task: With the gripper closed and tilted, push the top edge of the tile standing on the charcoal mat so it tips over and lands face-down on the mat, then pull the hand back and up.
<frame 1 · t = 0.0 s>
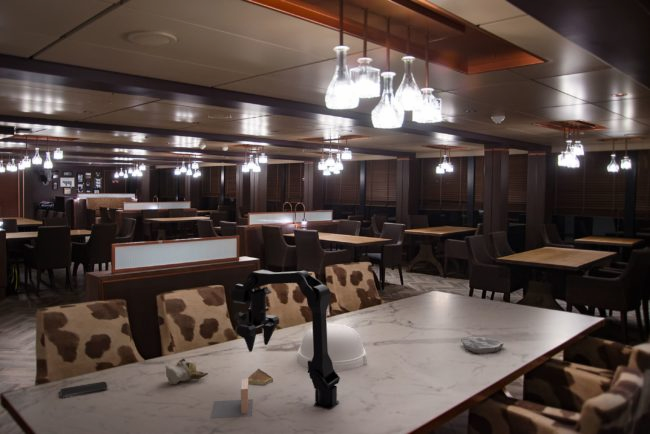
hand: (258, 348, 181), 15 cm above the table, fingers open, 9 cm apart
mat: (232, 409, 164), on the table
phone: (83, 392, 179), on the table
flat grey rock: (480, 349, 230), on the table
tile: (245, 407, 165), resting on mat
shard: (256, 381, 190), on the table
dome cover: (331, 359, 215), on the table
ceramic sculpture: (184, 381, 189), on the table
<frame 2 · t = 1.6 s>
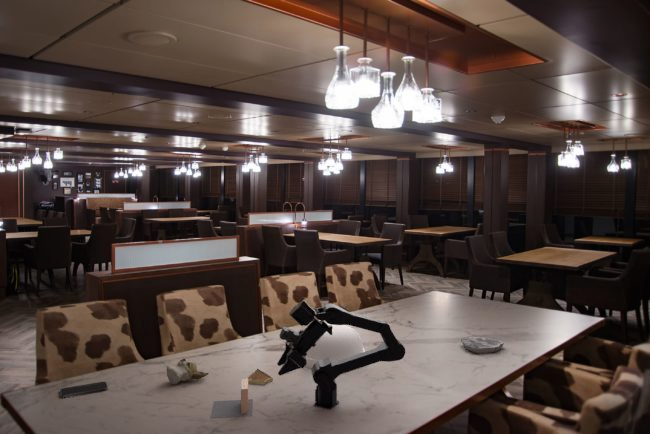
hand: (278, 369, 166), 12 cm above the table, fingers open, 9 cm apart
nothing on the table moved.
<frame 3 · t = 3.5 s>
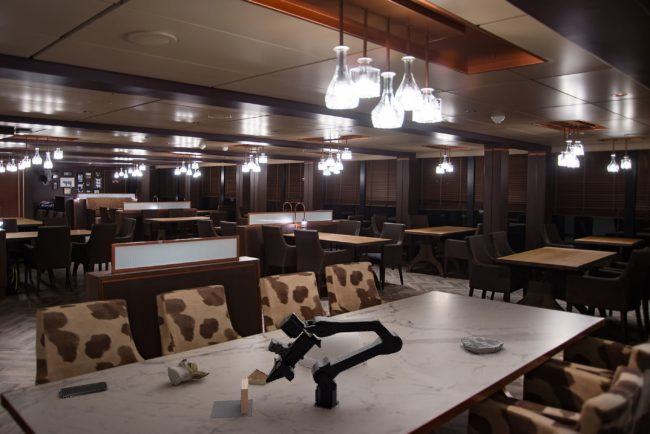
hand: (266, 381, 165), 9 cm above the table, fingers closed
nothing on the table moved.
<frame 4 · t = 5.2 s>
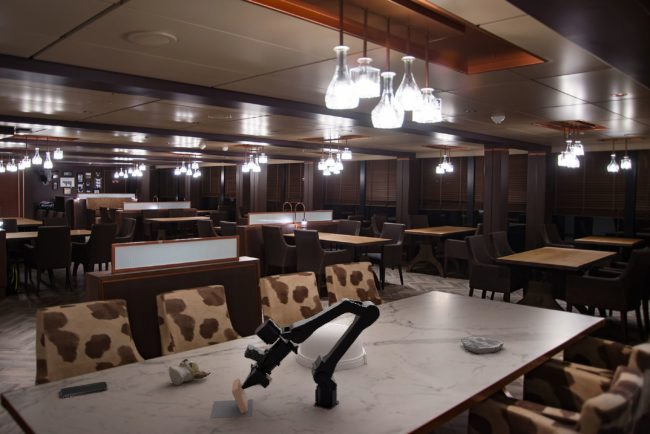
hand: (242, 388, 164), 7 cm above the table, fingers closed
tile: (244, 406, 165), point 1 cm above the table, tilted 21°, touching mat
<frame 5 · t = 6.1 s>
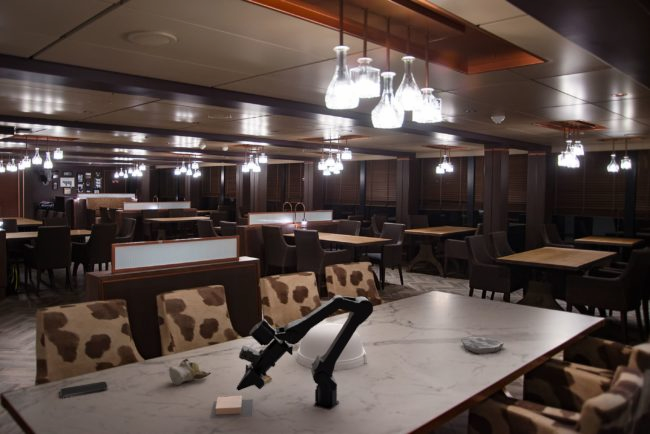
hand: (237, 389, 164), 7 cm above the table, fingers closed
tile: (241, 404, 164), point 1 cm above the table, tilted 90°, touching mat
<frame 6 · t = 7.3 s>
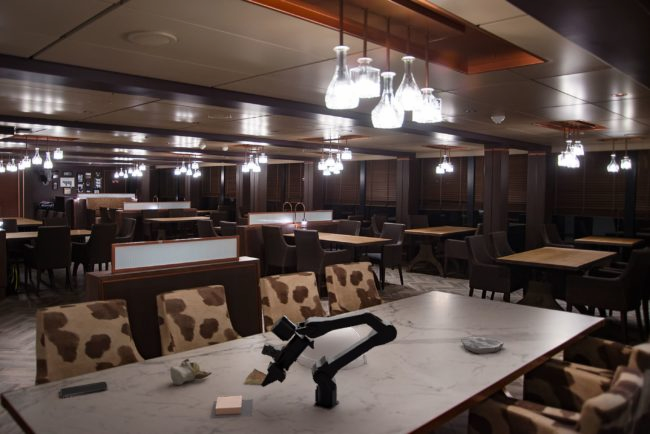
hand: (262, 385, 166), 7 cm above the table, fingers closed
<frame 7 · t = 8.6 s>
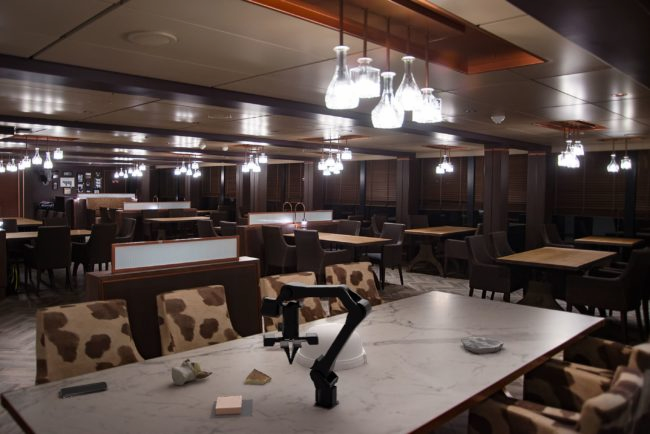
hand: (290, 364, 172), 12 cm above the table, fingers closed
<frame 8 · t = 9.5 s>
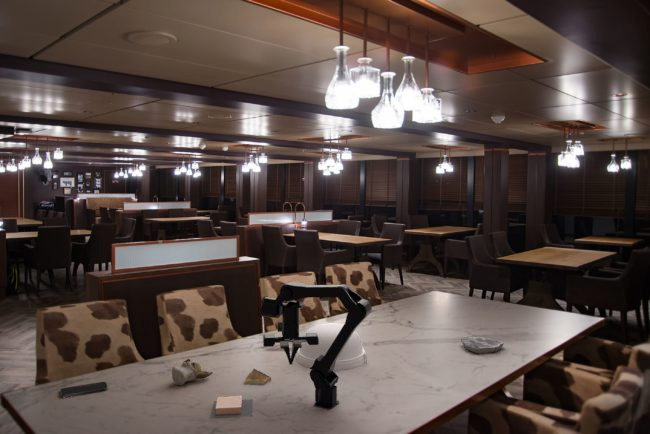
hand: (290, 364, 172), 12 cm above the table, fingers closed
at the end: tile tilted 90°; tile inside the target area on the mat (1.5 cm from its centre), point 1.4 cm above the mat's base; tile touching mat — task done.
